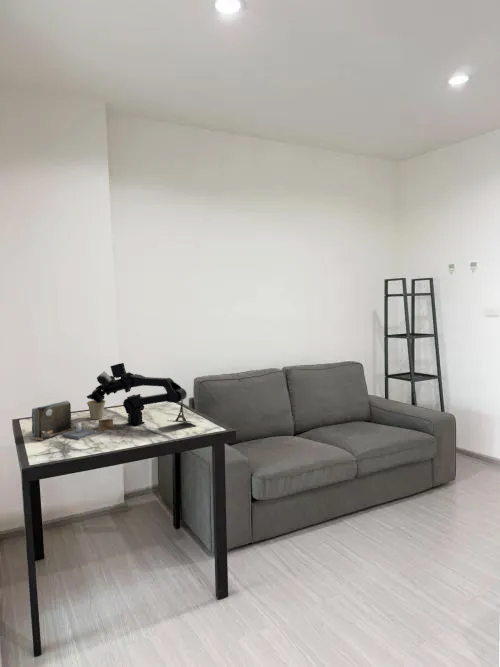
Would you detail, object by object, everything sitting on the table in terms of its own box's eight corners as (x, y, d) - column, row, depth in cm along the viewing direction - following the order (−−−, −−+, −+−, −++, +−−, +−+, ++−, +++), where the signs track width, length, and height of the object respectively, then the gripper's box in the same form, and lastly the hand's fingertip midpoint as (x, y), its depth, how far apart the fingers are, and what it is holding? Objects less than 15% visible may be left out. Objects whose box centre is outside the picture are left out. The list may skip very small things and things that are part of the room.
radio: (66, 426, 234) (65, 396, 233) (79, 428, 231) (78, 398, 229) (26, 439, 213) (25, 406, 212) (40, 442, 210) (39, 408, 208)
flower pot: (102, 420, 244) (102, 403, 244) (84, 420, 245) (84, 403, 244) (108, 415, 254) (108, 399, 253) (91, 415, 254) (90, 399, 253)
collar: (112, 425, 235) (112, 418, 234) (113, 429, 228) (113, 422, 228) (98, 426, 232) (98, 419, 232) (98, 430, 226) (98, 423, 226)
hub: (95, 433, 221) (94, 422, 221) (78, 439, 213) (78, 428, 212) (79, 430, 226) (79, 420, 226) (62, 436, 217) (62, 425, 217)
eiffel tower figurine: (186, 421, 241) (188, 395, 243) (198, 423, 234) (200, 395, 236) (161, 421, 231) (163, 393, 233) (173, 422, 224) (175, 394, 225)
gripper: (118, 363, 245) (93, 371, 250) (100, 379, 228) (74, 387, 233) (127, 382, 248) (102, 389, 253) (111, 399, 231) (85, 407, 236)
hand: (91, 392), depth 243 cm, fingers open, 9 cm apart
